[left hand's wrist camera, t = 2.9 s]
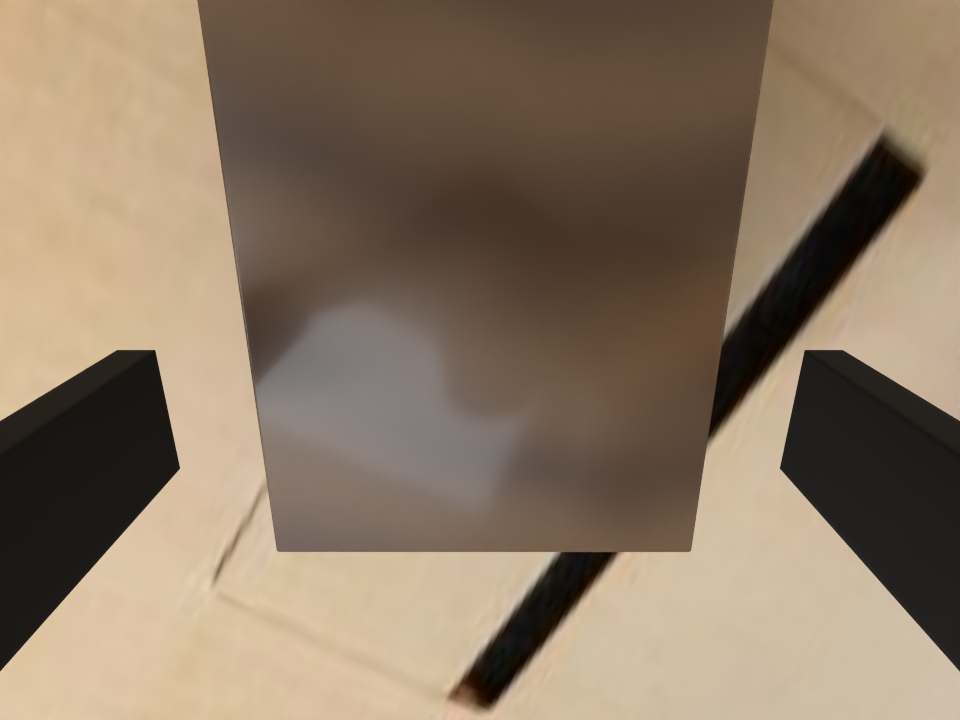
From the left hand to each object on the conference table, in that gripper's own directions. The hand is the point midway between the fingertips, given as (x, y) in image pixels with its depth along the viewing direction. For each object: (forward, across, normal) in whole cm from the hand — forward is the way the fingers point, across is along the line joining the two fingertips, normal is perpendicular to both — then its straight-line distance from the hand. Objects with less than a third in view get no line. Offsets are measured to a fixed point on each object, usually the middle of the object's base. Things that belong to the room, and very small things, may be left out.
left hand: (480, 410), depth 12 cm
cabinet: (+12, 0, -4) cm, 13 cm away
